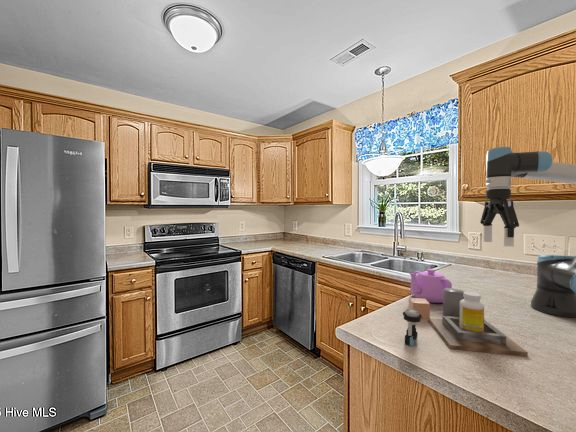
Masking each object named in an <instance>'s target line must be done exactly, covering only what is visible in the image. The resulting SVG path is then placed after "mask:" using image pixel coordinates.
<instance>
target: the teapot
mask: <svg viewBox="0 0 576 432" xmlns="http://www.w3.org/2000/svg"><path fill="white" fill-rule="evenodd" d="M407 273H409V275H410V278H411V279H410V292H411V294H412V295H413V298H422V299H426V300H427V301H428V302H429V303H430V304H431V303H433V304H434V303H435V304H436V303H437V304H439V303H440V304H443V289H445V288H452V287H453V284H452V282H451V281H450V280H449V279H447V278H446V277H445V276H444V275H443V274H442V273H439V272H436V269H433V268H427V269H426V271H420V270H416V271H414V272H413V273H412V272H407Z"/></svg>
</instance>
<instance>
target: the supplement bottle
mask: <svg viewBox="0 0 576 432" xmlns="http://www.w3.org/2000/svg"><path fill="white" fill-rule="evenodd" d="M463 296H464V299H462V300H461V301H460V318H459V329H460V330H461V331H471V332H483V333H484V320H485V305H484V304H483V302H481V297H482V296H481V294H480V293H478V292H474V291H464V293H463Z"/></svg>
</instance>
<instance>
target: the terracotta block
mask: <svg viewBox="0 0 576 432" xmlns="http://www.w3.org/2000/svg"><path fill="white" fill-rule="evenodd" d="M408 309H413V310H416V311H418V312H419V314H421V315H422V318H421V319H420V320H429V318H431V315H430V313H431V312H430V311H431V303H430V302H428V301H427V300H426V299H422V298H416V297H408Z"/></svg>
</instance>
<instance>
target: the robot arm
mask: <svg viewBox="0 0 576 432" xmlns="http://www.w3.org/2000/svg"><path fill="white" fill-rule="evenodd" d="M485 163H486V165H485V169H486V171H485V172H486V177H485V178H486V179H485V186H486V187H485V188H486V190H485V198H486V200H489V201H485V202H484V207H483V212H482V215H481V217H480V221H479V223H480V224H481V225H482V226H483V242H484V243H492V242H493V221H494V220H495V217H496V215H499V216H500V218H501V220H502V222H503V224H504V226H503V247H513V248H514V247H515V245H514V244H515V229H516V228H517V227H520V224H519V220H518V217H517V214H516V211H515V205H514V201H513V200H509V199H511V198H512V189H511V187H512V178H520V179H528V180H540V181H547V182H548V181H549V182H555V183H565V184H571V185H572V184H574V185H576V164H574V163H565V162H554V161H553V156H552V154H551V153H550V152H549V151H543V150H542V151H539V150H536V151H525V152H515V151H514V152H513V150H512V147H510V146H498V147H493V148H490V149H488V151H487V152H486V160H485ZM536 267H537V268H536V269H537V270H536V289H535V292H534V293H533V295H532V299H531V300H530V307H531V308H532V309H534V310H536V311H538V312H541V313H545V314H548V315H552V316H558V317H564V318H576V255H561V254H560V255H559V254H557V255H556V254H552V255H551V254H540V255H538V257H537V262H536Z"/></svg>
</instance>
